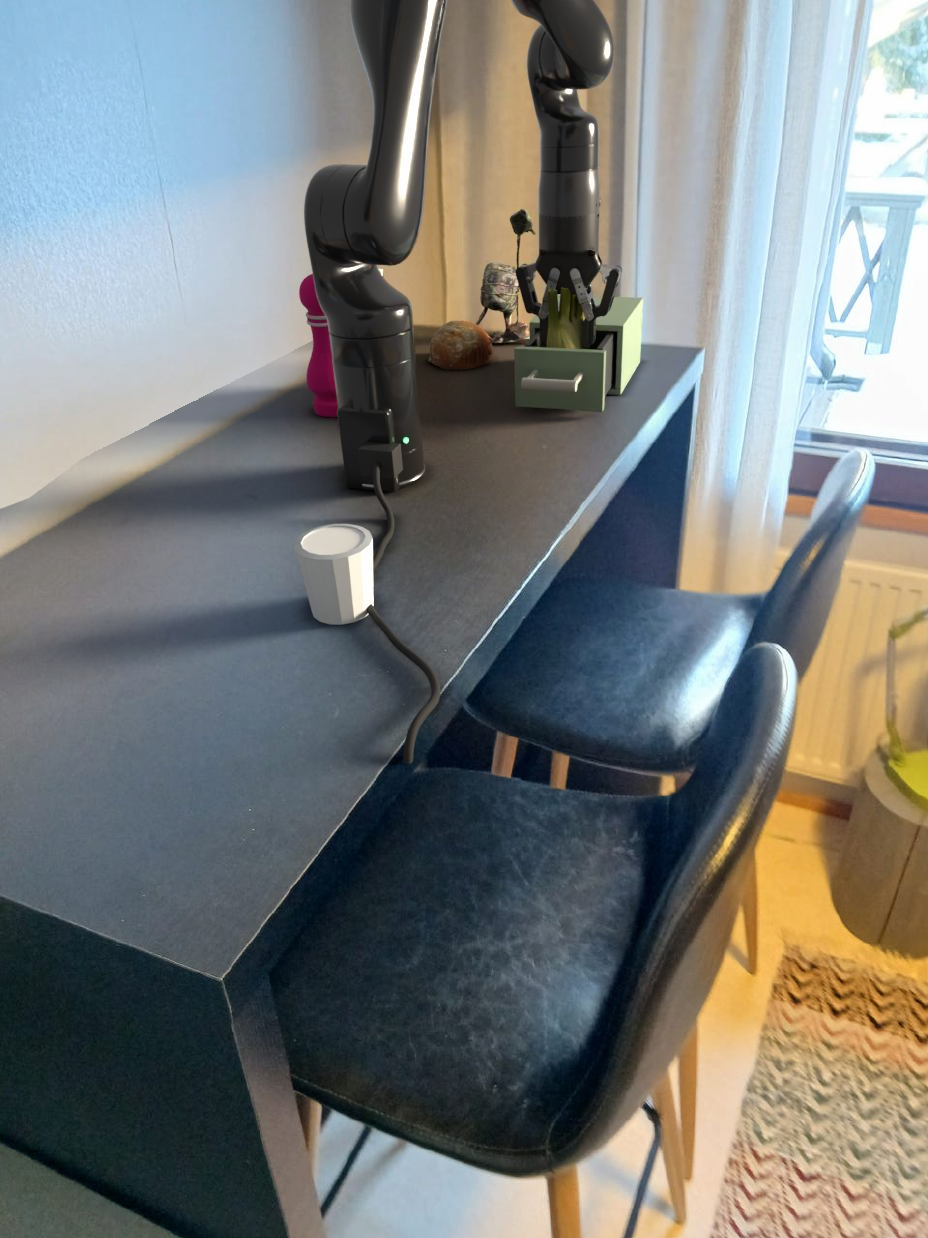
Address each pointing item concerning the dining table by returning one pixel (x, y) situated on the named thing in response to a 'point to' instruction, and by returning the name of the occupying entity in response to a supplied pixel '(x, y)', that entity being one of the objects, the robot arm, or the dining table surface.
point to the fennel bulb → (564, 320)
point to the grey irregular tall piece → (506, 287)
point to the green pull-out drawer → (565, 374)
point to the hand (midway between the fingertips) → (567, 345)
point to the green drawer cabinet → (629, 326)
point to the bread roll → (460, 346)
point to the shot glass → (337, 571)
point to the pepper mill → (319, 353)
